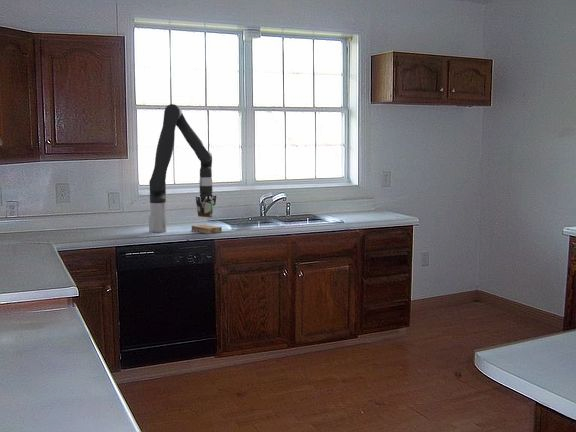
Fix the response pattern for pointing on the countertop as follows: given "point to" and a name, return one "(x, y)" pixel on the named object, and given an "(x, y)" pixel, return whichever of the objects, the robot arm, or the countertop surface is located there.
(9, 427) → the countertop surface
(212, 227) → the flat wooden block
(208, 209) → the food container
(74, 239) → the countertop surface
